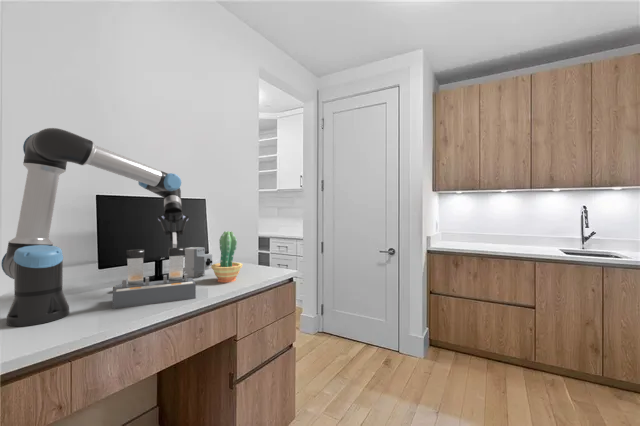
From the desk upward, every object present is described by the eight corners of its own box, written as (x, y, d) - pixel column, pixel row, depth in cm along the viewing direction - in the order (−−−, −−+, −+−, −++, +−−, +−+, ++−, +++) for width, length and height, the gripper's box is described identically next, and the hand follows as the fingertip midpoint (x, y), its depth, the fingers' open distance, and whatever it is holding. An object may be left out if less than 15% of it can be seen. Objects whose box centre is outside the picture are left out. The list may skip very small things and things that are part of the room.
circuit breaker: (207, 277, 160) (207, 249, 160) (183, 276, 163) (183, 248, 163) (214, 274, 167) (214, 247, 167) (191, 273, 170) (191, 247, 170)
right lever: (168, 283, 122) (169, 251, 117) (167, 278, 125) (168, 246, 119) (183, 281, 125) (184, 250, 119) (182, 276, 128) (184, 245, 122)
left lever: (127, 287, 116) (126, 253, 110) (127, 282, 118) (126, 248, 112) (144, 285, 118) (143, 252, 113) (144, 280, 121) (144, 247, 115)
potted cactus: (247, 278, 160) (248, 230, 160) (232, 285, 145) (232, 232, 145) (221, 276, 164) (222, 230, 164) (204, 282, 149) (204, 232, 149)
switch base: (112, 308, 110) (112, 284, 110) (116, 300, 120) (116, 277, 120) (195, 298, 123) (195, 276, 123) (192, 291, 134) (192, 270, 134)
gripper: (187, 212, 150) (190, 250, 135) (157, 212, 144) (157, 252, 129) (188, 201, 145) (192, 239, 131) (157, 201, 139) (157, 240, 124)
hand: (174, 245), depth 130 cm, fingers closed
